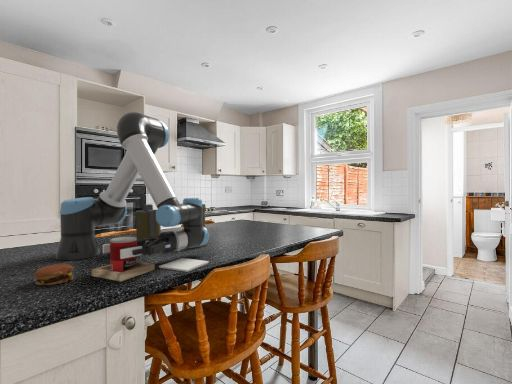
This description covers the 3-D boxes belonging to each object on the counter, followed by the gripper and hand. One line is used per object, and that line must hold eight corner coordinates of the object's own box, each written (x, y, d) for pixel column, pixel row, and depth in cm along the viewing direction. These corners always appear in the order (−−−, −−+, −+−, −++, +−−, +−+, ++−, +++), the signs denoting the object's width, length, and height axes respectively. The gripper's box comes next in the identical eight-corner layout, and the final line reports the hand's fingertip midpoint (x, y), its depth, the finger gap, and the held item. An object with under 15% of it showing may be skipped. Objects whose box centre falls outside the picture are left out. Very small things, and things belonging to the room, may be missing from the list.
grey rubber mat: (158, 267, 97) (158, 265, 97) (182, 259, 108) (182, 258, 108) (187, 271, 92) (187, 269, 92) (208, 262, 102) (208, 261, 102)
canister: (133, 249, 127) (133, 204, 126) (157, 246, 133) (156, 203, 133) (139, 253, 118) (138, 205, 118) (164, 250, 124) (164, 204, 124)
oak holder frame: (91, 275, 88) (91, 269, 88) (126, 265, 100) (126, 259, 100) (120, 281, 82) (120, 274, 82) (154, 269, 94) (154, 263, 94)
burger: (36, 280, 85) (35, 264, 85) (73, 275, 90) (73, 260, 90) (33, 290, 76) (33, 272, 76) (74, 283, 82) (74, 267, 82)
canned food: (127, 277, 87) (127, 241, 86) (104, 275, 88) (104, 240, 88) (142, 270, 94) (141, 236, 94) (121, 268, 96) (120, 236, 96)
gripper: (192, 255, 97) (130, 270, 81) (154, 247, 113) (95, 257, 96) (192, 234, 97) (130, 243, 81) (154, 228, 112) (95, 235, 96)
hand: (111, 251), depth 88 cm, fingers open, 11 cm apart
